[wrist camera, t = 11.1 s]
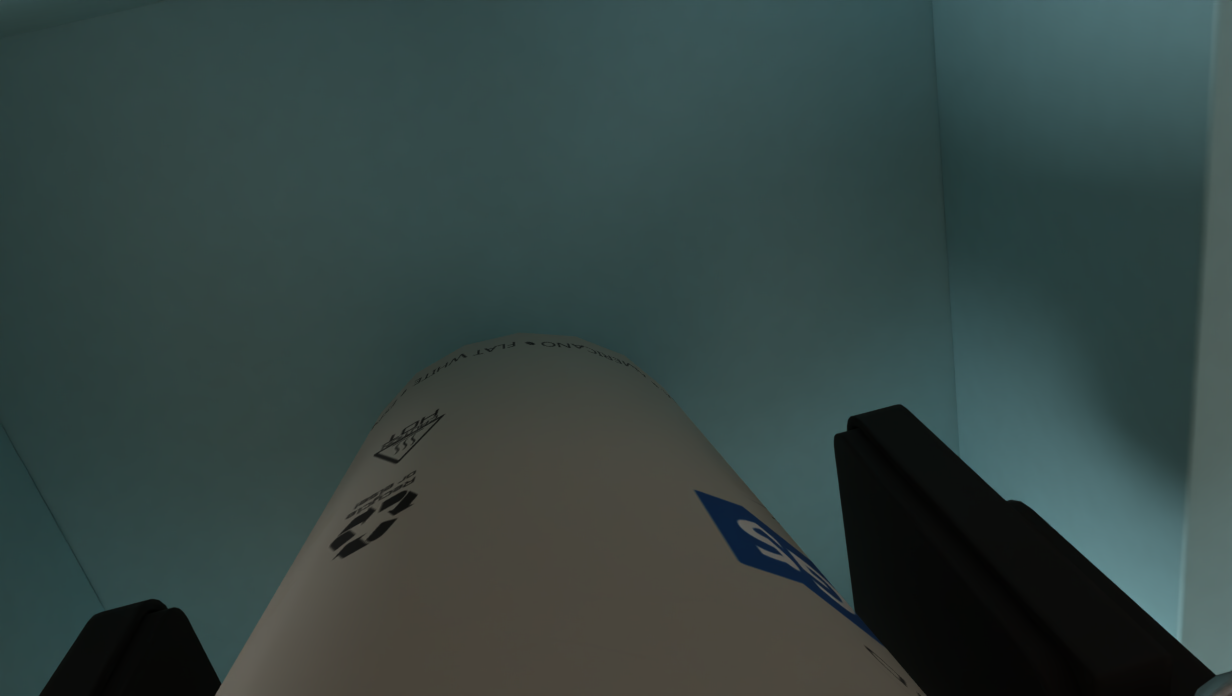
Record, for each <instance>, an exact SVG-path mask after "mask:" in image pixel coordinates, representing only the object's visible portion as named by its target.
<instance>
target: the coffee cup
mask: <svg viewBox="0 0 1232 696" xmlns="http://www.w3.org/2000/svg"><path fill="white" fill-rule="evenodd" d="M215 696H926V694H925V693H924V692H923V691H922V690H921V689H920V687H919V686H918V685H917V684H916V683H915V682H914V680H913V679H912V678H911V677H910V676H909V675H908V673H907V672H906V671H905V670H904V669H903V668H902V666H901V665H900V664H899V663H898V662H897V661H896V659H895V658H894V657H893V656H892V655H891V654H890V652H889V651H888V650H887V649H886V648H885V646H884V645H883V644H882V643H881V642H880V641H879V639H878V638H877V637H876V636H875V635H874V634H873V632H872V631H871V630H870V629H869V628H868V627H867V625H866V624H865V623H864V622H863V621H862V620H861V618H860V617H859V616H858V615H857V614H856V613H855V611H854V610H853V609H852V608H851V607H850V606H849V604H848V603H847V602H846V601H845V600H844V599H843V597H842V596H841V595H840V594H839V593H838V591H837V590H836V589H835V588H834V587H833V586H832V584H831V583H830V582H829V581H828V580H827V579H826V577H825V576H824V575H823V574H822V573H821V572H820V570H819V569H818V568H817V567H816V566H815V565H814V563H813V562H812V561H811V560H810V559H809V558H808V556H807V555H806V554H805V553H804V552H803V551H802V549H801V548H800V547H799V546H798V545H797V544H796V542H795V541H794V540H793V539H792V538H791V536H790V535H789V534H788V533H787V532H786V531H785V529H784V528H783V527H782V526H781V525H780V524H779V522H778V521H777V520H776V519H775V518H774V517H773V515H772V514H771V513H770V512H769V511H768V510H767V508H766V507H765V506H764V505H763V504H762V503H761V501H760V500H759V499H758V498H757V497H756V496H755V494H754V493H753V492H752V491H751V490H750V488H749V487H748V486H747V485H746V484H745V483H744V481H743V480H742V479H741V478H740V477H739V476H738V474H737V473H736V472H735V471H734V470H733V469H732V467H731V466H730V465H729V464H728V463H727V462H726V460H725V459H724V458H723V457H722V456H721V455H720V453H719V452H718V451H717V450H716V449H715V448H714V446H713V445H712V444H711V443H710V442H709V441H708V439H707V438H706V437H705V436H704V435H703V433H702V432H701V431H700V430H699V429H698V428H697V426H696V425H695V424H694V423H693V422H692V421H691V419H690V418H689V417H688V416H687V415H686V414H685V412H684V411H683V410H682V409H681V408H680V407H679V405H678V404H677V403H676V402H675V401H674V400H673V398H672V397H671V396H670V395H669V394H668V393H667V391H666V390H665V389H664V388H663V387H662V386H661V385H660V384H658V383H657V382H656V381H655V380H654V379H652V378H651V377H650V376H649V375H648V374H646V373H645V372H644V371H643V370H642V369H640V368H639V367H638V366H637V365H635V364H634V363H633V362H632V361H631V360H629V359H628V358H627V357H626V356H625V355H622V354H619V353H617V352H614V351H612V350H609V349H607V348H604V347H601V346H599V345H596V344H594V343H591V342H588V341H586V340H583V339H581V338H578V337H576V336H563V335H548V334H533V333H516V334H511V335H507V336H503V337H498V338H494V339H490V340H485V341H481V342H477V343H472V344H468V345H464V346H462V347H461V348H459V349H457V350H455V351H454V352H452V353H450V354H449V355H447V356H445V357H443V358H442V359H440V360H438V361H437V362H435V363H433V364H431V365H430V366H428V367H426V368H424V369H423V370H421V371H419V372H418V373H416V374H415V375H414V376H413V378H412V379H411V380H410V381H409V382H408V383H407V384H406V385H405V387H404V388H403V389H402V390H401V391H400V392H399V393H398V394H397V395H396V397H395V398H394V399H393V400H392V401H391V402H390V403H389V404H388V406H387V407H386V408H385V409H384V410H383V411H382V412H381V414H380V416H379V417H378V419H377V421H376V422H375V424H374V426H373V428H372V429H371V431H370V433H369V434H368V436H367V438H366V439H365V441H364V443H363V445H362V446H361V448H360V450H359V451H358V453H357V455H356V456H355V458H354V460H353V462H352V463H351V465H350V467H349V468H348V470H347V472H346V473H345V475H344V477H343V479H342V480H341V482H340V484H339V485H338V487H337V489H336V490H335V492H334V494H333V496H332V497H331V499H330V501H329V502H328V504H327V506H326V508H325V509H324V511H323V513H322V514H321V516H320V518H319V519H318V521H317V523H316V525H315V526H314V528H313V530H312V531H311V533H310V535H309V536H308V538H307V540H306V542H305V543H304V545H303V547H302V548H301V550H300V552H299V553H298V555H297V557H296V559H295V560H294V562H293V564H292V565H291V567H290V569H289V570H288V572H287V574H286V576H285V577H284V579H283V581H282V582H281V584H280V586H279V587H278V589H277V591H276V593H275V594H274V596H273V598H272V599H271V601H270V603H269V604H268V606H267V608H266V610H265V611H264V613H263V615H262V616H261V618H260V620H259V622H258V623H257V625H256V627H255V628H254V630H253V632H252V633H251V635H250V637H249V639H248V640H247V642H246V644H245V645H244V647H243V649H242V650H241V652H240V654H239V656H238V657H237V659H236V661H235V662H234V664H233V666H232V667H231V669H230V671H229V673H228V674H227V676H226V678H225V679H224V681H223V683H222V684H221V686H220V688H219V690H218V691H217V693H216V695H215Z"/></svg>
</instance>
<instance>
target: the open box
mask: <svg viewBox="0 0 1232 696" xmlns="http://www.w3.org/2000/svg"><path fill="white" fill-rule="evenodd" d="M516 333H533V334H548V335H563V336H576V337H578V338H581V339H583V340H586V341H588V342H591V343H594V344H596V345H599V346H601V347H604V348H607V349H609V350H612V351H614V352H617V353H619V354H622V355H625V356H626V357H627V358H628V359H629V360H631V361H632V362H633V363H634V364H635V365H637V366H638V367H639V368H640V369H642V370H643V371H644V372H645V373H646V374H648V375H649V376H650V377H651V378H652V379H654V380H655V381H656V382H657V383H658V384H660V385H661V386H662V387H663V388H664V389H665V390H666V391H667V393H668V394H669V395H670V396H671V397H672V398H673V400H674V401H675V402H676V403H677V404H678V405H679V407H680V408H681V409H682V410H683V411H684V412H685V414H686V415H687V416H688V417H689V418H690V419H691V421H692V422H693V423H694V424H695V425H696V426H697V428H698V429H699V430H700V431H701V432H702V433H703V435H704V436H705V437H706V438H707V439H708V441H709V442H710V443H711V444H712V445H713V446H714V448H715V449H716V450H717V451H718V452H719V453H720V455H721V456H722V457H723V458H724V459H725V460H726V462H727V463H728V464H729V465H730V466H731V467H732V469H733V470H734V471H735V472H736V473H737V474H738V476H739V477H740V478H741V479H742V480H743V481H744V483H745V484H746V485H747V486H748V487H749V488H750V490H751V491H752V492H753V493H754V494H755V496H756V497H757V498H758V499H759V500H760V501H761V503H762V504H763V505H764V506H765V507H766V508H767V510H768V511H769V512H770V513H771V514H772V515H773V517H774V518H775V519H776V520H777V521H778V522H779V524H780V525H781V526H782V527H783V528H784V529H785V531H786V532H787V533H788V534H789V535H790V536H791V538H792V539H793V540H794V541H795V542H796V544H797V545H798V546H799V547H800V548H801V549H802V551H803V552H804V553H805V554H806V555H807V556H808V558H809V559H810V560H811V561H812V562H813V563H814V565H815V566H816V567H817V568H818V569H819V570H820V572H821V573H822V574H823V575H824V576H825V577H826V579H827V580H828V581H829V582H830V583H831V584H832V586H833V587H834V588H835V589H836V590H837V591H838V593H839V594H840V595H841V596H842V597H843V599H844V600H845V601H846V602H847V603H848V604H849V606H850V607H851V608H852V609H853V610H854V602H853V594H852V586H851V578H850V571H849V563H848V555H847V547H846V539H845V531H844V523H843V516H842V508H841V500H840V492H839V484H838V476H837V468H836V461H835V453H834V436H835V434H837V433H841V432H845V431H847V422H848V419H849V418H850V416H854V415H858V414H862V413H866V412H869V411H873V410H877V409H881V408H885V407H889V406H892V405H896V404H901V405H903V406H904V407H906V408H907V409H908V410H909V411H910V412H911V413H912V414H914V415H915V416H916V417H917V418H918V419H919V420H920V421H921V422H922V423H923V424H924V425H925V426H926V427H927V428H929V429H930V430H931V431H932V432H933V433H934V434H935V435H936V436H937V437H938V438H939V439H940V440H941V441H942V442H944V443H945V444H946V445H947V446H948V447H949V448H950V449H951V450H952V451H953V452H954V453H955V454H956V455H957V456H959V457H960V458H961V459H962V460H963V461H964V462H965V463H966V464H967V465H968V466H969V467H970V468H971V469H972V470H974V471H975V472H976V473H977V474H978V475H979V476H980V477H981V478H982V479H983V480H984V481H985V482H986V483H987V484H988V485H990V486H991V487H992V488H993V489H994V490H995V491H996V492H997V493H998V494H999V495H1000V496H1001V497H1002V498H1003V499H1005V500H1006V501H1008V500H1017V501H1021V502H1023V503H1024V504H1026V505H1027V506H1029V507H1030V508H1031V509H1033V510H1034V511H1035V512H1036V513H1037V514H1038V515H1039V516H1041V517H1042V518H1043V519H1044V520H1045V521H1046V522H1047V523H1048V524H1049V525H1050V526H1052V527H1053V528H1054V529H1055V530H1056V531H1057V532H1058V533H1059V534H1060V535H1062V536H1063V537H1064V538H1065V539H1066V540H1067V541H1068V542H1069V543H1070V544H1072V545H1073V546H1074V547H1075V548H1076V549H1077V550H1078V551H1079V552H1080V553H1081V554H1083V555H1084V556H1085V557H1086V558H1087V559H1088V560H1089V561H1090V562H1091V563H1093V564H1094V565H1095V566H1096V567H1097V568H1098V569H1099V570H1100V571H1101V572H1103V573H1104V574H1105V575H1106V576H1107V577H1108V578H1109V579H1110V580H1111V581H1112V582H1114V583H1115V584H1116V585H1117V586H1118V587H1119V588H1120V589H1121V590H1122V591H1124V592H1125V593H1126V594H1127V595H1128V596H1129V597H1130V598H1131V599H1132V600H1133V601H1135V602H1136V603H1137V604H1138V605H1139V606H1140V607H1141V608H1142V609H1143V610H1145V611H1146V612H1147V613H1148V614H1149V615H1150V616H1151V617H1152V618H1153V619H1155V620H1156V621H1157V622H1158V623H1159V624H1160V625H1161V626H1162V627H1163V628H1164V629H1166V630H1167V631H1168V632H1169V633H1170V634H1171V635H1172V636H1173V637H1174V638H1176V639H1177V640H1178V641H1179V642H1180V643H1181V644H1182V645H1183V646H1184V647H1186V648H1187V649H1188V650H1189V651H1190V652H1191V653H1192V654H1193V655H1194V656H1195V657H1197V658H1198V659H1199V660H1200V661H1201V662H1202V663H1203V664H1204V665H1205V666H1207V667H1208V668H1209V669H1210V670H1211V671H1212V672H1213V673H1214V674H1215V675H1218V674H1222V673H1225V672H1229V671H1232V0H0V696H39V695H40V693H41V692H42V690H43V689H44V687H45V686H46V684H47V683H48V681H49V680H50V678H51V676H52V675H53V673H54V672H55V670H56V669H57V667H58V666H59V664H60V663H61V661H62V660H63V658H64V657H65V655H66V654H67V652H68V651H69V649H70V648H71V646H72V645H73V643H74V642H75V640H76V639H77V637H78V635H79V634H80V632H81V631H82V629H83V628H84V626H85V625H86V623H87V622H88V621H89V620H90V619H91V617H92V616H93V615H95V614H97V613H100V612H103V611H106V610H110V609H114V608H118V607H122V606H126V605H129V604H133V603H137V602H141V601H145V600H149V599H157V600H160V601H161V602H162V603H164V604H165V605H166V606H167V608H168V609H169V608H172V607H176V608H179V609H181V610H182V611H183V612H184V613H185V615H186V616H187V618H188V619H189V621H190V623H191V625H192V627H193V629H194V631H195V633H196V635H197V637H198V639H199V641H200V643H201V645H202V647H203V649H204V651H205V653H206V655H207V656H208V658H209V660H210V662H211V664H212V666H213V668H214V670H215V672H216V674H217V676H218V678H219V680H220V682H221V684H222V683H223V681H224V679H225V678H226V676H227V674H228V673H229V671H230V669H231V667H232V666H233V664H234V662H235V661H236V659H237V657H238V656H239V654H240V652H241V650H242V649H243V647H244V645H245V644H246V642H247V640H248V639H249V637H250V635H251V633H252V632H253V630H254V628H255V627H256V625H257V623H258V622H259V620H260V618H261V616H262V615H263V613H264V611H265V610H266V608H267V606H268V604H269V603H270V601H271V599H272V598H273V596H274V594H275V593H276V591H277V589H278V587H279V586H280V584H281V582H282V581H283V579H284V577H285V576H286V574H287V572H288V570H289V569H290V567H291V565H292V564H293V562H294V560H295V559H296V557H297V555H298V553H299V552H300V550H301V548H302V547H303V545H304V543H305V542H306V540H307V538H308V536H309V535H310V533H311V531H312V530H313V528H314V526H315V525H316V523H317V521H318V519H319V518H320V516H321V514H322V513H323V511H324V509H325V508H326V506H327V504H328V502H329V501H330V499H331V497H332V496H333V494H334V492H335V490H336V489H337V487H338V485H339V484H340V482H341V480H342V479H343V477H344V475H345V473H346V472H347V470H348V468H349V467H350V465H351V463H352V462H353V460H354V458H355V456H356V455H357V453H358V451H359V450H360V448H361V446H362V445H363V443H364V441H365V439H366V438H367V436H368V434H369V433H370V431H371V429H372V428H373V426H374V424H375V422H376V421H377V419H378V417H379V416H380V414H381V412H382V411H383V410H384V409H385V408H386V407H387V406H388V404H389V403H390V402H391V401H392V400H393V399H394V398H395V397H396V395H397V394H398V393H399V392H400V391H401V390H402V389H403V388H404V387H405V385H406V384H407V383H408V382H409V381H410V380H411V379H412V378H413V376H414V375H415V374H416V373H418V372H419V371H421V370H423V369H424V368H426V367H428V366H430V365H431V364H433V363H435V362H437V361H438V360H440V359H442V358H443V357H445V356H447V355H449V354H450V353H452V352H454V351H455V350H457V349H459V348H461V347H462V346H464V345H468V344H472V343H477V342H481V341H485V340H490V339H494V338H498V337H503V336H507V335H511V334H516ZM854 611H855V610H854Z"/></svg>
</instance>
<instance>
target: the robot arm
mask: <svg viewBox="0 0 1232 696" xmlns="http://www.w3.org/2000/svg"><path fill="white" fill-rule="evenodd" d="M834 453H835V461H836V468H837V476H838V484H839V492H840V500H841V508H842V516H843V523H844V531H845V539H846V547H847V555H848V563H849V571H850V578H851V586H852V594H853V602H854V610H855V613H856V614H857V615H858V616H859V617H860V618H861V620H862V621H863V622H864V623H865V624H866V625H867V627H868V628H869V629H870V630H871V631H872V632H873V634H874V635H875V636H876V637H877V638H878V639H879V641H880V642H881V643H882V644H883V645H884V646H885V648H886V649H887V650H888V651H889V652H890V654H891V655H892V656H893V657H894V658H895V659H896V661H897V662H898V663H899V664H900V665H901V666H902V668H903V669H904V670H905V671H906V672H907V673H908V675H909V676H910V677H911V678H912V679H913V680H914V682H915V683H916V684H917V685H918V686H919V687H920V689H921V690H922V691H923V692H924V693H925V694H926V696H1232V671H1229V672H1225V673H1222V674H1218V675H1215V674H1214V673H1213V672H1212V671H1211V670H1210V669H1209V668H1208V667H1207V666H1205V665H1204V664H1203V663H1202V662H1201V661H1200V660H1199V659H1198V658H1197V657H1195V656H1194V655H1193V654H1192V653H1191V652H1190V651H1189V650H1188V649H1187V648H1186V647H1184V646H1183V645H1182V644H1181V643H1180V642H1179V641H1178V640H1177V639H1176V638H1174V637H1173V636H1172V635H1171V634H1170V633H1169V632H1168V631H1167V630H1166V629H1164V628H1163V627H1162V626H1161V625H1160V624H1159V623H1158V622H1157V621H1156V620H1155V619H1153V618H1152V617H1151V616H1150V615H1149V614H1148V613H1147V612H1146V611H1145V610H1143V609H1142V608H1141V607H1140V606H1139V605H1138V604H1137V603H1136V602H1135V601H1133V600H1132V599H1131V598H1130V597H1129V596H1128V595H1127V594H1126V593H1125V592H1124V591H1122V590H1121V589H1120V588H1119V587H1118V586H1117V585H1116V584H1115V583H1114V582H1112V581H1111V580H1110V579H1109V578H1108V577H1107V576H1106V575H1105V574H1104V573H1103V572H1101V571H1100V570H1099V569H1098V568H1097V567H1096V566H1095V565H1094V564H1093V563H1091V562H1090V561H1089V560H1088V559H1087V558H1086V557H1085V556H1084V555H1083V554H1081V553H1080V552H1079V551H1078V550H1077V549H1076V548H1075V547H1074V546H1073V545H1072V544H1070V543H1069V542H1068V541H1067V540H1066V539H1065V538H1064V537H1063V536H1062V535H1060V534H1059V533H1058V532H1057V531H1056V530H1055V529H1054V528H1053V527H1052V526H1050V525H1049V524H1048V523H1047V522H1046V521H1045V520H1044V519H1043V518H1042V517H1041V516H1039V515H1038V514H1037V513H1036V512H1035V511H1034V510H1033V509H1031V508H1030V507H1029V506H1027V505H1026V504H1024V503H1023V502H1021V501H1017V500H1008V501H1006V500H1005V499H1003V498H1002V497H1001V496H1000V495H999V494H998V493H997V492H996V491H995V490H994V489H993V488H992V487H991V486H990V485H988V484H987V483H986V482H985V481H984V480H983V479H982V478H981V477H980V476H979V475H978V474H977V473H976V472H975V471H974V470H972V469H971V468H970V467H969V466H968V465H967V464H966V463H965V462H964V461H963V460H962V459H961V458H960V457H959V456H957V455H956V454H955V453H954V452H953V451H952V450H951V449H950V448H949V447H948V446H947V445H946V444H945V443H944V442H942V441H941V440H940V439H939V438H938V437H937V436H936V435H935V434H934V433H933V432H932V431H931V430H930V429H929V428H927V427H926V426H925V425H924V424H923V423H922V422H921V421H920V420H919V419H918V418H917V417H916V416H915V415H914V414H912V413H911V412H910V411H909V410H908V409H907V408H906V407H904V406H903V405H901V404H896V405H892V406H889V407H885V408H881V409H877V410H873V411H869V412H866V413H862V414H858V415H854V416H850V418H849V419H848V422H847V431H845V432H841V433H837V434H835V436H834ZM220 686H221V682H220V680H219V678H218V676H217V674H216V672H215V670H214V668H213V666H212V664H211V662H210V660H209V658H208V656H207V655H206V653H205V651H204V649H203V647H202V645H201V643H200V641H199V639H198V637H197V635H196V633H195V631H194V629H193V627H192V625H191V623H190V621H189V619H188V618H187V616H186V615H185V613H184V612H183V611H182V610H181V609H179V608H176V607H172V608H169V609H168V608H167V606H166V605H165V604H164V603H162V602H161V601H160V600H157V599H149V600H145V601H141V602H137V603H133V604H129V605H126V606H122V607H118V608H114V609H110V610H106V611H103V612H100V613H97V614H95V615H93V616H92V617H91V619H90V620H89V621H88V622H87V623H86V625H85V626H84V628H83V629H82V631H81V632H80V634H79V635H78V637H77V639H76V640H75V642H74V643H73V645H72V646H71V648H70V649H69V651H68V652H67V654H66V655H65V657H64V658H63V660H62V661H61V663H60V664H59V666H58V667H57V669H56V670H55V672H54V673H53V675H52V676H51V678H50V680H49V681H48V683H47V684H46V686H45V687H44V689H43V690H42V692H41V693H40V695H39V696H215V695H216V693H217V691H218V690H219V688H220Z"/></svg>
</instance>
